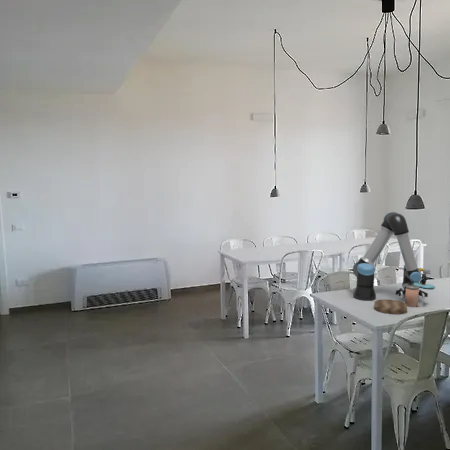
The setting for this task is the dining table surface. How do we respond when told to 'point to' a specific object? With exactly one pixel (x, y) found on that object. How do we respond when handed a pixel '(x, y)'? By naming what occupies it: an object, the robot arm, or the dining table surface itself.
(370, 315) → the dining table surface
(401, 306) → the walnut pedestal
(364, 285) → the robot arm
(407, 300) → the terracotta jar
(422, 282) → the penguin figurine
